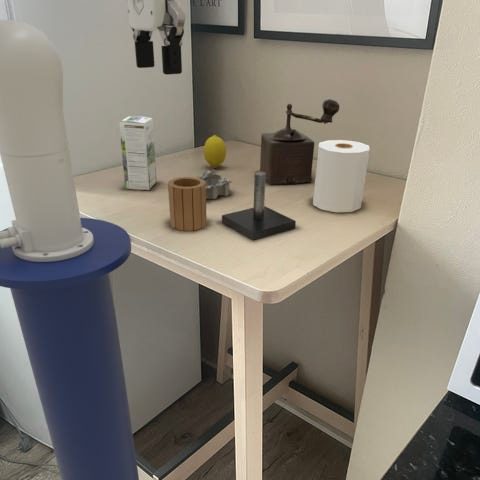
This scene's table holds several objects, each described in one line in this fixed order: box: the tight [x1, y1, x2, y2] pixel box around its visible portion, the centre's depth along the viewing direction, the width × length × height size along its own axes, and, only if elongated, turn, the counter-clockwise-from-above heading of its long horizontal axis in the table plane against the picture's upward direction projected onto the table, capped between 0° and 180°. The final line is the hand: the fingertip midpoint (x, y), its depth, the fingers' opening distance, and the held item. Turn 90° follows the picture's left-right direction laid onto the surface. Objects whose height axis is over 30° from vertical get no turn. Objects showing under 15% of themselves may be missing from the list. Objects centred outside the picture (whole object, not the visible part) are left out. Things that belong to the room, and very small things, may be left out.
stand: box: [221, 171, 297, 241], centre depth 92 cm, size 10×10×10 cm
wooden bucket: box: [167, 176, 208, 232], centre depth 93 cm, size 7×7×8 cm
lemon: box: [203, 134, 227, 169], centre depth 124 cm, size 6×6×8 cm
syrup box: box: [119, 115, 157, 191], centre depth 109 cm, size 6×6×14 cm
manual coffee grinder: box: [259, 98, 340, 186], centre depth 116 cm, size 16×11×18 cm
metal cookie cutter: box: [196, 169, 233, 200], centre depth 108 cm, size 11×8×4 cm
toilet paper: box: [312, 139, 371, 214], centre depth 102 cm, size 10×10×12 cm
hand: (158, 70), depth 84 cm, fingers open, 9 cm apart
